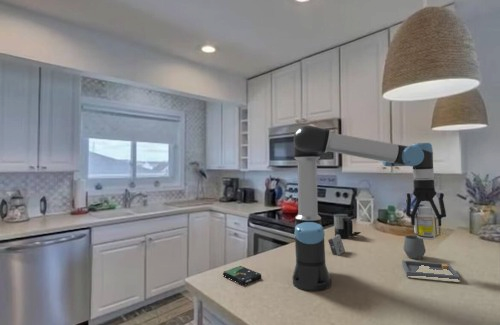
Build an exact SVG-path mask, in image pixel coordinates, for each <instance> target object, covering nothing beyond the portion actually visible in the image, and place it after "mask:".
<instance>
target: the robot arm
mask: <svg viewBox="0 0 500 325" xmlns="http://www.w3.org/2000/svg"><path fill="white" fill-rule="evenodd" d="M328 152H331V153H335V154H341V155H347V156H352V157H357V158H362V159H368V160H374V161H379V162H382V165H383V166H385V167H390V168H392V167H412V173H413V174H412V177H413V179H414V180H413V190H412V192H406V194H405V196H406V210H405V212H406V213H405V215H406V216H407V217H409V218H410V224H411V226H413V229H414V234H416V235H417V234H418V232H417V218H416V214H417V213H418V212H417V211H418V207H420V204H421V202H428V203H429V204H430V207H431V208H432V211H433V212H434V214H435V221H436V236H438V235H440V230H439V229H440V228H439V227H441V226H442V218H446V217H447V212H446V207H445V203H444V197H445V196H444V195H445V194H444V193H443V192H437V191H436V190H435V179H434V178H435V173H434V151H433V146H432V143H431V142H417V143H416V142H415V143H413V144H411V145H402V144H397V143H391V142H385V141H379V140H374V139H369V138H362V137H357V136H352V135H347V134H346V135H345V134H341V133H336V132H335V133H334V132H332V131H331V130H330V129H327V128H323V127H317V126H314V125H304V126H301V127H298V129H297V130H296V131H295V133H294V136H293V156H294V157H293V158H294V159H295V160H296V162H297V197H298V198H297V200H298V201H297V207H298V208H297V210H298V212H297V215H295V217H294V221H295V222H294V223H295V224H294V234H293V235H294V239H295V240H294V244H295V246H294V247H295V266H294V270H293V272H292V273H293V274H292V285H293V286H294V287H296V288H298V289H301V290H305V291H310V292H316V291H317V292H320V291H323V290H324V291H325V290H327V289H329V288H330V287H331V285H332V282H331V281H332V279H331V276H330V273H329V270H328V267H327V265H326V251H325V250H326V249H325V247H326V246H325V236H326V235H325V230H324V227H323V225H322V217H321V216H320V215H319V214H318V213H319V212H318V207H319V206H318V163H317V162H318V160H320V159H321V153H323V154H326V153H328ZM413 196H414V197H415V198H416V199H415V202H414V205H413V208H412V211H411V207H412V206H411V205H412V198H413ZM435 196H436V198H438V199H437V200H438V204H439V210H440V211H439V210H438V207H437V206H436V204H435V201H434V197H435Z"/></svg>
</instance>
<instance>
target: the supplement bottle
mask: <svg viewBox="0 0 500 325" xmlns="http://www.w3.org/2000/svg"><path fill="white" fill-rule="evenodd" d="M417 211H418V212H416V215H415V217H416V218H417V232H418V234H416V236H418V238H421V239H423V240H428V241H430V240H431V241H432V240H436V239H437V234H436V221H435V218H436V215H435V213H433V208H432V207H431V206H429V207H428V206H419V207H418V210H417Z"/></svg>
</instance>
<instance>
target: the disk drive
mask: <svg viewBox="0 0 500 325" xmlns="http://www.w3.org/2000/svg"><path fill="white" fill-rule="evenodd" d="M223 275H224V276H226V277H228V278H230V279H232V280H234V281H236V282H238V283H239V284H238V283H237V284H238V285H240V284H241V285H240V286H242V285H244V286H246V285H245V284H247V285H249V284H248V283H250V284H252V283H255V282H257V281H256V280H258V281H260V280H259V279H261V280H262V273H259V272H257V271H255V270H252V269H250V268H246V267H245V266H242V265H240V266H235V267H232V268H230V269H228V270H224V271H223V272H222V276H223ZM224 276H223V277H224ZM228 278H227V279H228ZM230 279H229V280H230ZM232 280H231V281H232ZM234 281H233V282H234ZM254 281H255V282H254ZM236 282H235V283H236ZM251 282H252V283H251Z"/></svg>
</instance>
